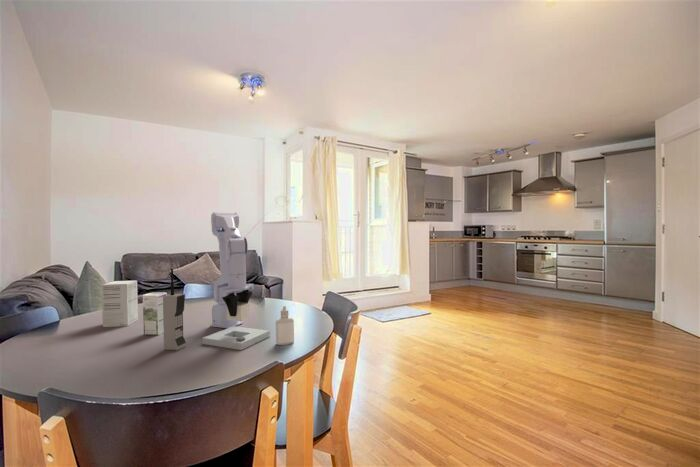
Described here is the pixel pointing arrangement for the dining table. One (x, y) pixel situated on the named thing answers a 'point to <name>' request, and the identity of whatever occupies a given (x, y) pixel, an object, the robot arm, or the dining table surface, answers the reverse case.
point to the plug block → (240, 312)
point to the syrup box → (153, 313)
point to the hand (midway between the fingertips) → (237, 314)
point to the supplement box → (119, 303)
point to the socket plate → (236, 337)
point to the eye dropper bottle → (284, 328)
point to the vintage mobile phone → (173, 319)
